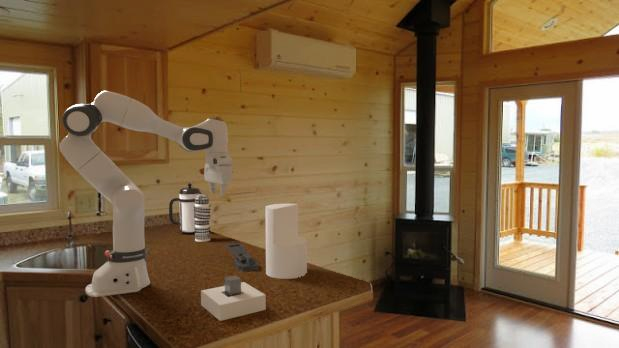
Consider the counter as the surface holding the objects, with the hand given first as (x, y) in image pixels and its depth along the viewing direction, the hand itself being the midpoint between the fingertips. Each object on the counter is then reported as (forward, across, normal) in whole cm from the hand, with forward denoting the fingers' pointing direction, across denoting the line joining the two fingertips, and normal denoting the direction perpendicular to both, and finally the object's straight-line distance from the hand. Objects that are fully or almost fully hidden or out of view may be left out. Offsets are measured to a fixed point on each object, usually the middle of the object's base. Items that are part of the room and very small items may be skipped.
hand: (217, 194), depth 177 cm
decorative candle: (+34, -68, +19) cm, 79 cm away
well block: (+34, +33, -9) cm, 48 cm away
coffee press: (+34, -91, +19) cm, 99 cm away
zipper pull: (+34, -14, +16) cm, 41 cm away
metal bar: (+34, +33, -9) cm, 48 cm away
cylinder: (+34, +10, +26) cm, 44 cm away
